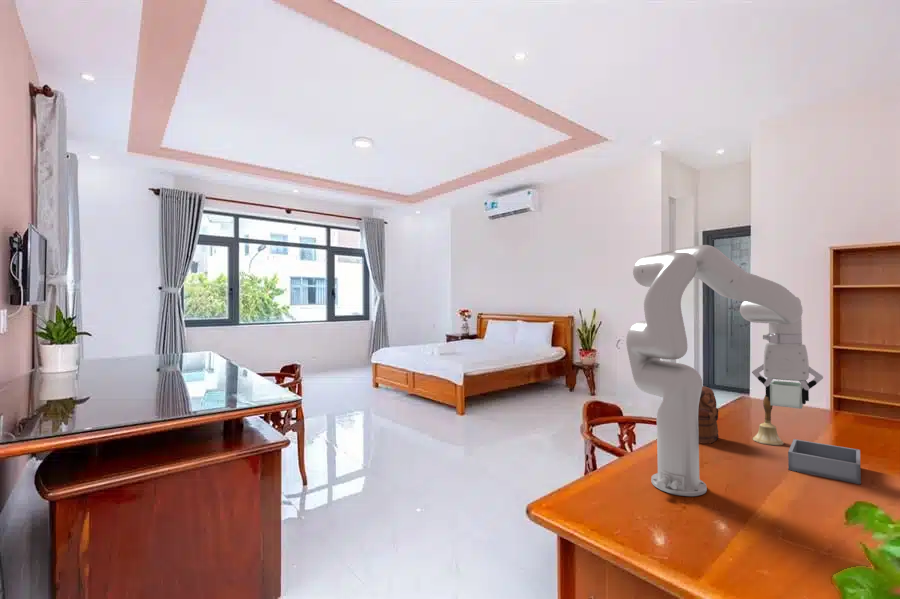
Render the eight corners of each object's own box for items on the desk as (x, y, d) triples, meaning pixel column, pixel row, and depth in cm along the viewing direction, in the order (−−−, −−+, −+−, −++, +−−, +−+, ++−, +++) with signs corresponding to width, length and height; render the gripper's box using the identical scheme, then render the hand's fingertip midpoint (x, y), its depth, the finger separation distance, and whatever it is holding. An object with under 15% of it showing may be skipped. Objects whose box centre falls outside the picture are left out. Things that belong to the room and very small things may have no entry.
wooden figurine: (707, 445, 141) (706, 390, 141) (687, 441, 146) (686, 387, 146) (722, 438, 148) (721, 385, 148) (702, 433, 153) (701, 383, 153)
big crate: (860, 484, 110) (860, 465, 110) (788, 469, 120) (788, 452, 120) (860, 467, 121) (860, 449, 121) (793, 455, 131) (793, 439, 131)
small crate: (801, 408, 119) (801, 387, 119) (770, 405, 124) (769, 384, 124) (803, 403, 124) (802, 382, 124) (773, 400, 129) (772, 380, 129)
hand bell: (773, 437, 148) (772, 390, 148) (789, 445, 140) (788, 396, 140) (747, 437, 149) (746, 390, 149) (762, 445, 140) (761, 396, 140)
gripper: (746, 339, 127) (748, 400, 127) (824, 342, 116) (826, 408, 116) (750, 337, 133) (752, 395, 133) (825, 339, 121) (827, 403, 121)
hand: (786, 400), depth 124 cm, fingers closed on small crate, 7 cm apart
